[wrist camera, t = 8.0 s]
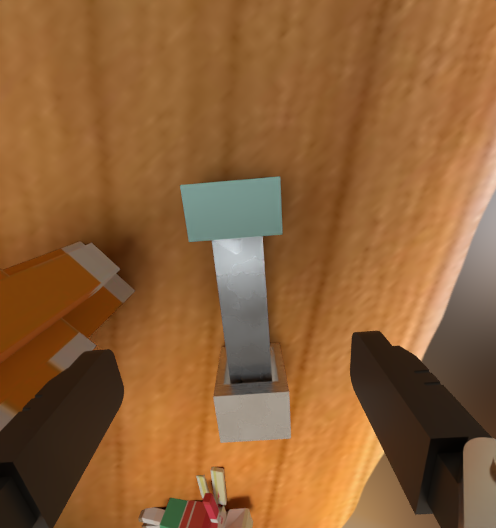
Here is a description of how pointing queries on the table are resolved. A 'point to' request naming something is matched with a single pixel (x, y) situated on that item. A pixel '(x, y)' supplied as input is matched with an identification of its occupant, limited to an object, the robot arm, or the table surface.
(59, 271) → the toy
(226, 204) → the socket
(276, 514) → the table surface
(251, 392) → the sleeve
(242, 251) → the bar
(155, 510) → the toy
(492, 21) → the table surface
